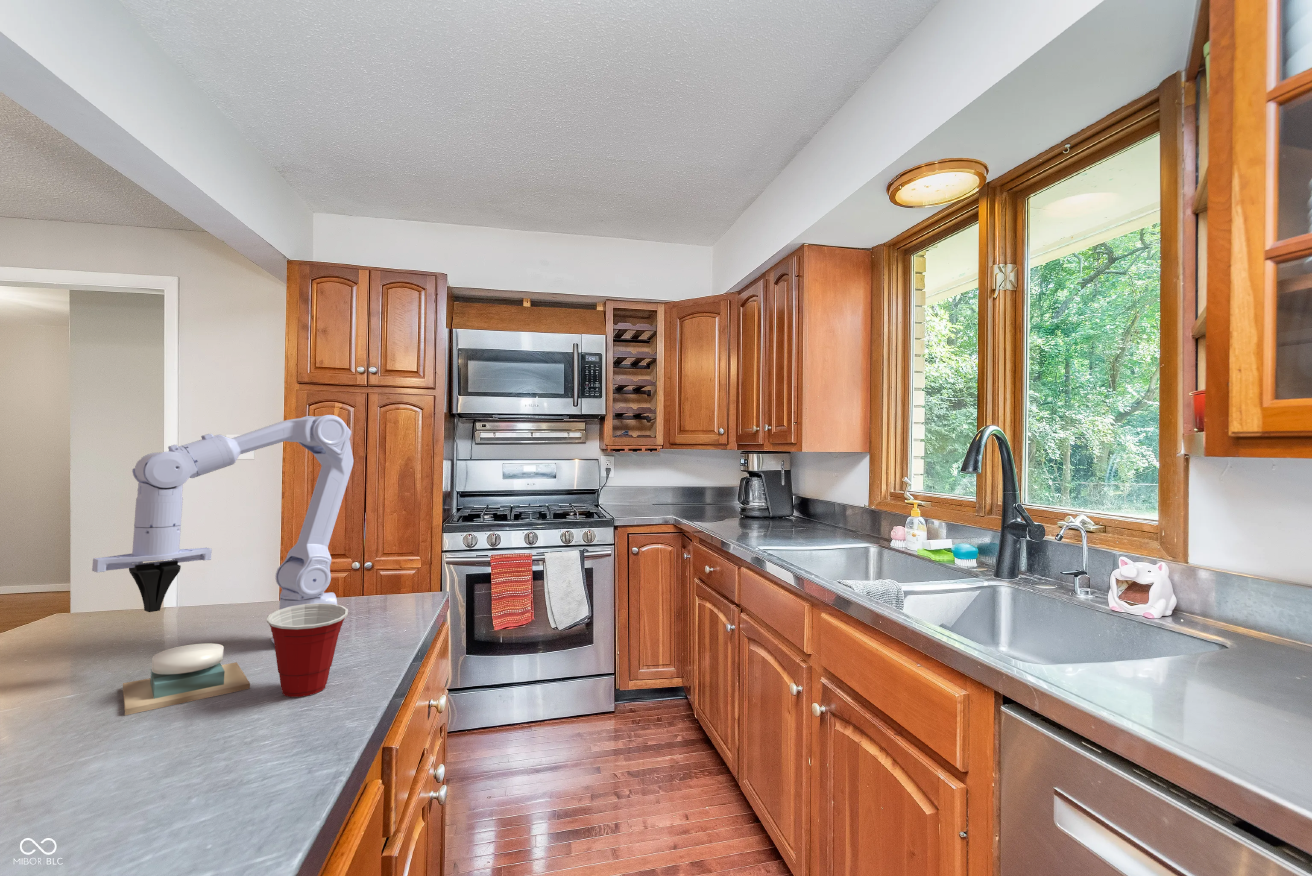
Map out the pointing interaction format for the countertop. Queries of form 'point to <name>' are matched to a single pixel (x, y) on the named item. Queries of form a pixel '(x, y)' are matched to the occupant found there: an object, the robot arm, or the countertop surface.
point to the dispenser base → (147, 703)
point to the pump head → (187, 658)
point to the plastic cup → (305, 645)
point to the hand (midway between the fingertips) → (152, 610)
